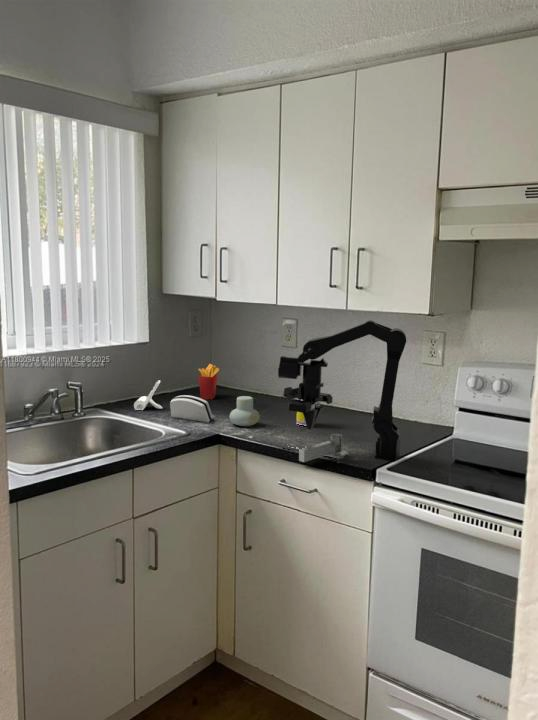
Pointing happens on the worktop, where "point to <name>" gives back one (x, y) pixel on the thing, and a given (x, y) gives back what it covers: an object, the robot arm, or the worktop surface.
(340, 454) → the pivot base
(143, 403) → the plastic part
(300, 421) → the supplement bottle
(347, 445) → the worktop surface
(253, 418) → the air freshener
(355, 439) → the worktop surface
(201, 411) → the napkin holder
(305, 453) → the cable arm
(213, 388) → the french fries
